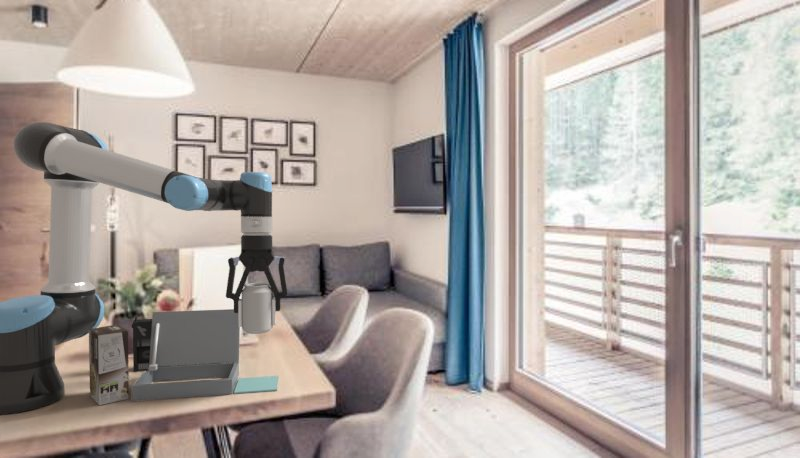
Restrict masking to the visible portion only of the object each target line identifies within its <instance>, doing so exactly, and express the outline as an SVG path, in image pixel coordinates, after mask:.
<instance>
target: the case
mask: <svg viewBox="0 0 800 458" xmlns="http://www.w3.org/2000/svg"><path fill="white" fill-rule="evenodd" d="M151 319H152V331H151V346H150V362H149V368H148V369H147V370H146V371H144V372H143V374H142V375H140V377H138V379H137V380H136V381H134V383H133V384H132V385H131V402H139V401H140V402H141V401H153V400H168V399H170V400H171V399H182V398H183V399H184V398H196V397H197V398H198V397H208V396H209V397H211V396H222V395H224V396H225V395H232V394H234V391H235V388H236V385H237V382H238V379H239V374H240V365H239V364H240V340H241V339H240V333H241V332H240V331H241V327H239V319H238V313H234V308H232V309H205V310H204V309H202V310H201V309H200V310H179V311H176V310H175V311H153V312H152V317H151ZM210 363H211V364H210ZM158 366H159V367H158ZM227 377H228V378H227ZM211 378H213V379H211ZM215 378H216V379H215ZM195 379H196V380H195ZM198 379H201V380H198ZM180 380H182V381H180ZM183 380H185V381H183ZM186 380H187V381H186ZM163 381H164V382H163ZM165 381H166V382H165ZM167 381H168V382H167ZM169 381H172V382H169ZM153 382H154V383H153ZM155 382H157V383H155Z"/></svg>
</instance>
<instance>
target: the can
mask: <svg viewBox="0 0 800 458" xmlns="http://www.w3.org/2000/svg"><path fill="white" fill-rule="evenodd" d="M273 298H274V294H273V291H272V289H271V287H270V284H269V282H268V283H267V282H251V283H245V285H244V287H243V290H242V292H241V299H242V327H241V330H243V331H244V332H245V333H246V334H249V335H260V334H265V333H268V332H270V331H271V329H273V327H274V325H272V299H273Z"/></svg>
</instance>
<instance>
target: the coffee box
mask: <svg viewBox="0 0 800 458" xmlns="http://www.w3.org/2000/svg"><path fill="white" fill-rule="evenodd" d="M88 357H89V360H88V362H89V394H90V397H91V399H93V400H94V401H95V402H96V404H98V406H102V405H107V404H111V403H116V402H120V401H125V400H129V398H130V397H129V396H130V395H129V394H130V393H129V392H130V391H129V390H130V389H129V388H130V387H129V385H130V384H129V383H130V380H129V379H130V378H129V376H130V375H129V330H128V329H126V328H124V327H123V326H120V325H119V324H111V325H106V326H100V327H99V326H98V327H97V328H94V329H89V333H88Z"/></svg>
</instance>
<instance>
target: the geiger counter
mask: <svg viewBox="0 0 800 458" xmlns="http://www.w3.org/2000/svg"><path fill="white" fill-rule="evenodd" d="M131 328H132V344H133V345H132V349H133V352H132V357H133V358H132V362H133V363H132V364H133V372H134V373H136V372H146V370H147V369H148V368H149V362H150V346H151V331H152V318H144V319H142V318H141V319H140V318H138V314H136V315H135V316H134V320H133V321H132V324H131ZM158 367H159V366H158Z"/></svg>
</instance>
